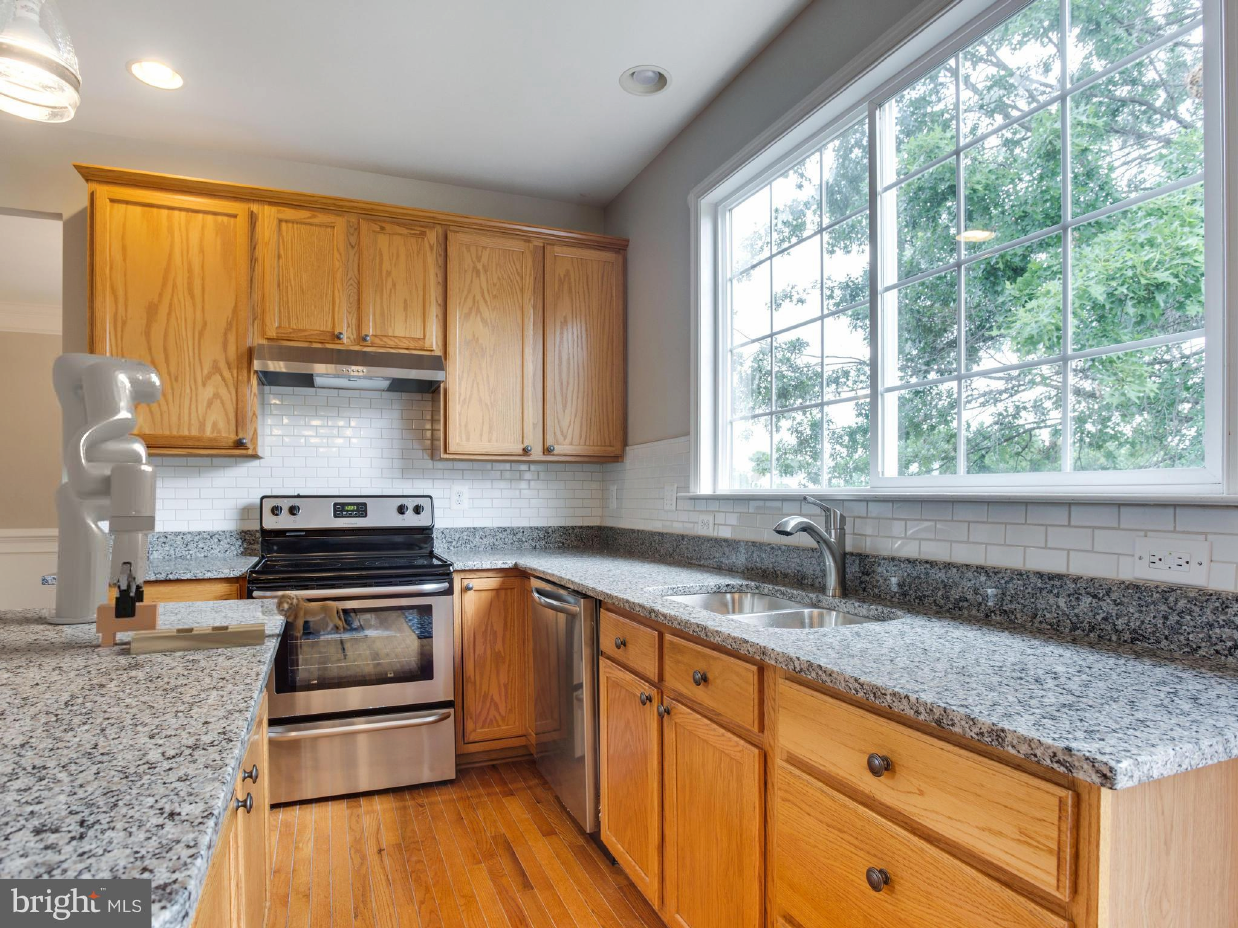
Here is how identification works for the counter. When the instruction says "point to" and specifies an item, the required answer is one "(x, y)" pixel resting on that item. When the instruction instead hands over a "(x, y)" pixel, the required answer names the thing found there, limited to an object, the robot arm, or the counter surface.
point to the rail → (197, 638)
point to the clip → (125, 621)
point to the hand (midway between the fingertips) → (129, 613)
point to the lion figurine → (308, 612)
